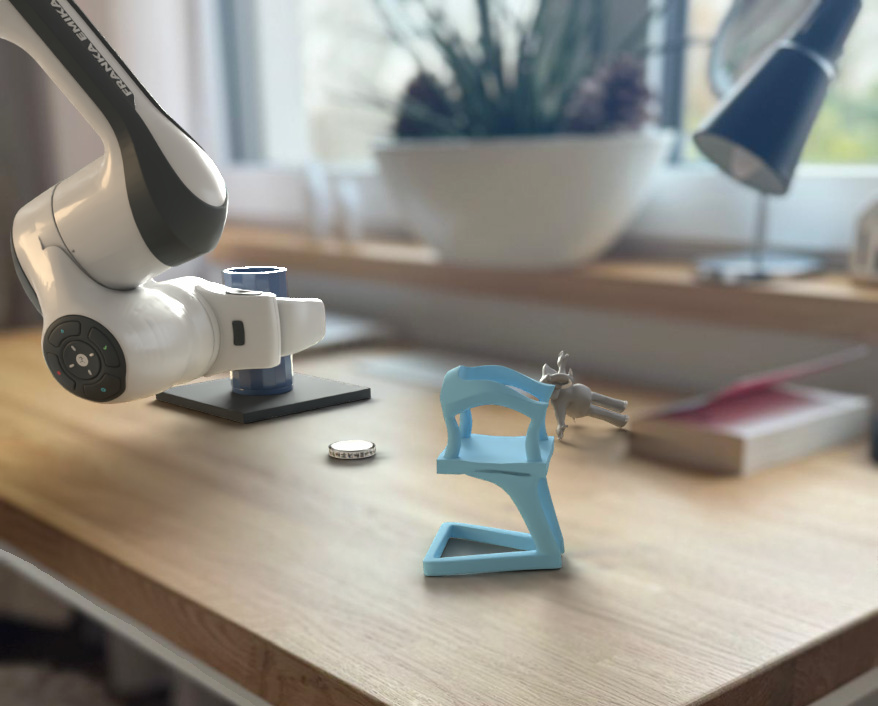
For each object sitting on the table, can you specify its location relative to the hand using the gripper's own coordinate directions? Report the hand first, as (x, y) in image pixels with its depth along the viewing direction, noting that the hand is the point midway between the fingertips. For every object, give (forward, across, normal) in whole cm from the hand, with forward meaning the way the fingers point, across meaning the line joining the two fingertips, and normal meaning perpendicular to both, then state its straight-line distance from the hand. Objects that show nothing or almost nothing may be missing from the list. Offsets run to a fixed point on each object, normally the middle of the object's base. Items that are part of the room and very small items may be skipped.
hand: (255, 308), depth 109 cm
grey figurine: (-4, +34, -9) cm, 35 cm away
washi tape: (-18, +17, -9) cm, 27 cm away
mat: (0, 0, -9) cm, 9 cm away
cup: (0, 0, -8) cm, 8 cm away
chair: (-39, +36, -9) cm, 54 cm away
